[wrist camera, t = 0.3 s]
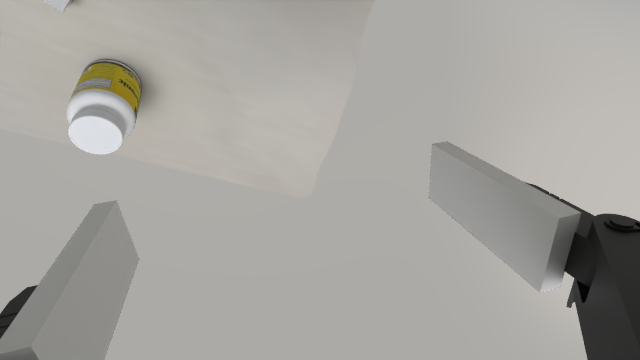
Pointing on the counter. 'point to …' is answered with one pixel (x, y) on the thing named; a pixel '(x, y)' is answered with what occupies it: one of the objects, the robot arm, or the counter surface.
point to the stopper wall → (58, 4)
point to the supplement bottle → (103, 107)
